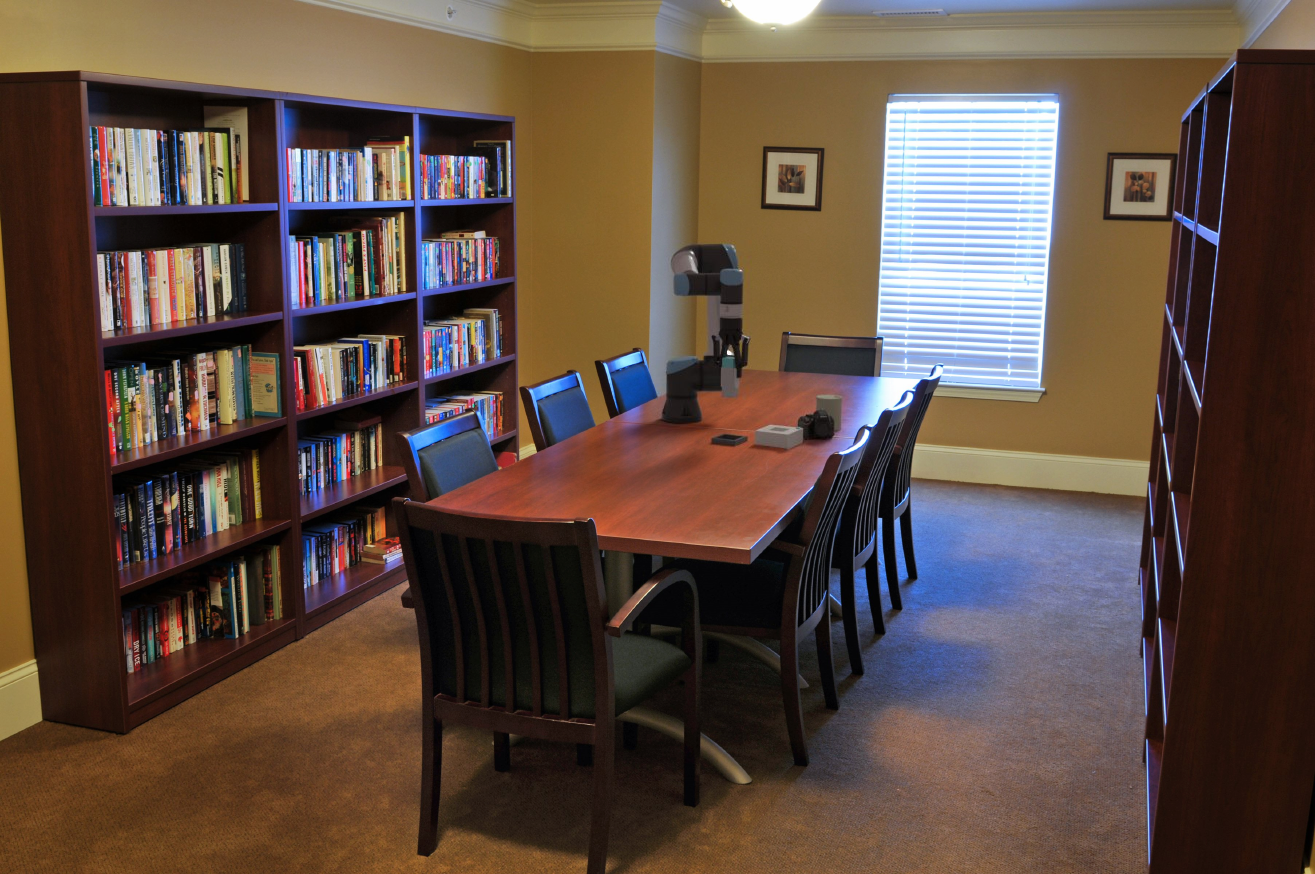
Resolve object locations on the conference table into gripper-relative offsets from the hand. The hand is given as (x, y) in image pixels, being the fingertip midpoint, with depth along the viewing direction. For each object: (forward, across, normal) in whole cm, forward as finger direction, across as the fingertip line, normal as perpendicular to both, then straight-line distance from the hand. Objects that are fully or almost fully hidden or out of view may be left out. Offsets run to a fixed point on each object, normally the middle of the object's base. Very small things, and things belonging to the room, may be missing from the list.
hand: (730, 386), depth 367 cm
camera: (+20, +22, +23) cm, 37 cm away
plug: (+3, 0, 0) cm, 3 cm away
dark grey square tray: (+19, 0, 0) cm, 19 cm away
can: (+20, +19, +40) cm, 48 cm away
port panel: (+19, +15, +7) cm, 25 cm away
